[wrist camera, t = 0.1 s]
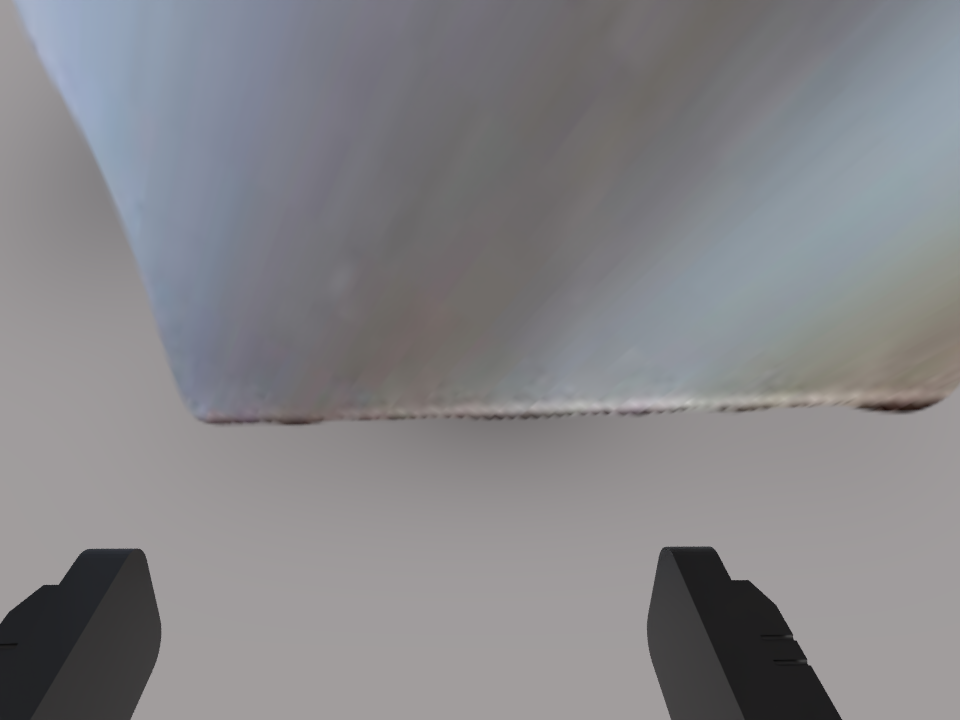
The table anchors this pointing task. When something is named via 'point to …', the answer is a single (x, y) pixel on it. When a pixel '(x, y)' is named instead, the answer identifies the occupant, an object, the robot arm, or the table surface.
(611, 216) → the table surface
